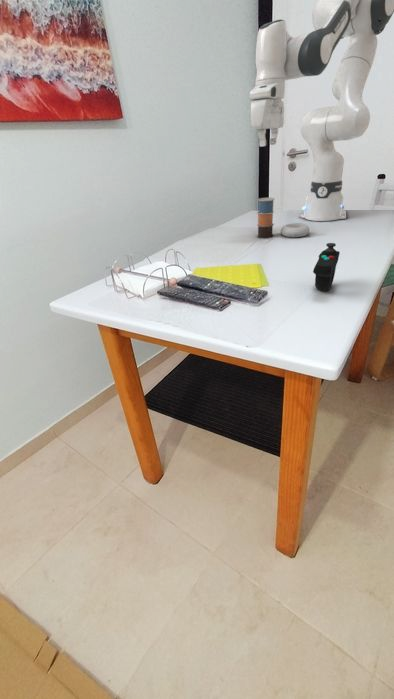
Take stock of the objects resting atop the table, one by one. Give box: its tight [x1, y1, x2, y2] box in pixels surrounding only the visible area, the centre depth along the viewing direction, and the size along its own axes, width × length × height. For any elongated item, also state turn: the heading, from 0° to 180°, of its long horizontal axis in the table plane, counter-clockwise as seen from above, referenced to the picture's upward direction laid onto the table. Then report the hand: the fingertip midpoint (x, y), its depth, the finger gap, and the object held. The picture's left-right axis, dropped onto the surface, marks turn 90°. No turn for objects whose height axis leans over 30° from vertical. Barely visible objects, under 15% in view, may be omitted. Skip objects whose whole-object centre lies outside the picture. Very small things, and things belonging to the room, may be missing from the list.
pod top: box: [257, 197, 275, 213], centre depth 120 cm, size 6×6×4 cm
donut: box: [280, 223, 310, 238], centre depth 123 cm, size 10×4×10 cm
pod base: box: [257, 222, 275, 239], centre depth 124 cm, size 6×6×4 cm
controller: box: [312, 242, 341, 291], centre depth 77 cm, size 4×12×10 cm, turn 153°
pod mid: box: [257, 210, 275, 226], centre depth 122 cm, size 6×6×4 cm
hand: (267, 145), depth 110 cm, fingers open, 8 cm apart
